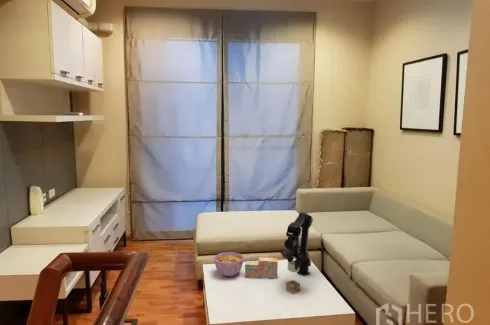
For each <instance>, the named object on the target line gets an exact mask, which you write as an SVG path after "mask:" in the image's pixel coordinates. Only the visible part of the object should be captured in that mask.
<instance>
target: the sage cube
mask: <svg viewBox="0 0 490 325" xmlns="http://www.w3.org/2000/svg"><path fill="white" fill-rule="evenodd" d="M287 270H288V271H289V272H292V273H297V272H298V271H299V267H298V269H297V270H295V262H294V260H293V261H290V262H288V261H287Z"/></svg>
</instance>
